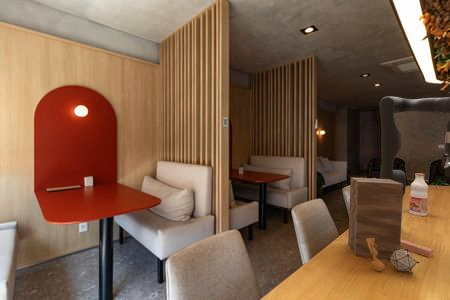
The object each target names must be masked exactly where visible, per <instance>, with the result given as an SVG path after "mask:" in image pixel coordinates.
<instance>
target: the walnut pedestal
mask: <svg viewBox="0 0 450 300" xmlns="http://www.w3.org/2000/svg"><path fill="white" fill-rule="evenodd" d="M349 183H350V187H349V207H348V208H349V211H348V213H349V214H348V238H347V239H348V243H347V244H348V246H349V247H350V249H351V251H352V253H353V254H354V256H355V257H360V258H366V259H367V258H369V259H374V258H373V255H374V253H373V255H372V254H371V251H370V249H369V247H368V243H367V241H366V239H367V238H374V240H375V241H374V243H375V244H376V246H377V247H376V246H375V245H374V248H375V249H376V250H377V251H378V254H377V255H376V257H377V258H378V259H379V260H380V261H382V260H383V261H387V262H388V261H389V262H391V261H390V259H387V258H390V257H391V255H392V254H393V252H394V249H393V248H395V250H401V247H400V240H401V237H402V236H401V235H402V234H401V233H402V229H401V219H402V220H403V212H402V197H403V198H404V196H403V184H401V183H399V182H396V181H393V180H390V179H380V178H374V177H373V178H369V177H354V176H353V177H350V182H349Z"/></svg>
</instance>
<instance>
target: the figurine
mask: <svg viewBox="0 0 450 300" xmlns="http://www.w3.org/2000/svg"><path fill="white" fill-rule="evenodd" d="M366 241H367V243H368V247H369V249H370V251H371V254H372V255H373V253H374V255H373V258H372V259H373V260H372V261H371V266H372V267H371V268H372V269H374V270H375V271H377V272H382V271H383V270H384V268H385V265H384V263H383V261H382V260H381V259H378V258H377V257H376V255H377V254H378V251H377V250H376V249H375V248H374V245H375V246H376V244H375V243H374V241H375V240H374V238H367V239H366ZM376 247H377V246H376Z"/></svg>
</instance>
